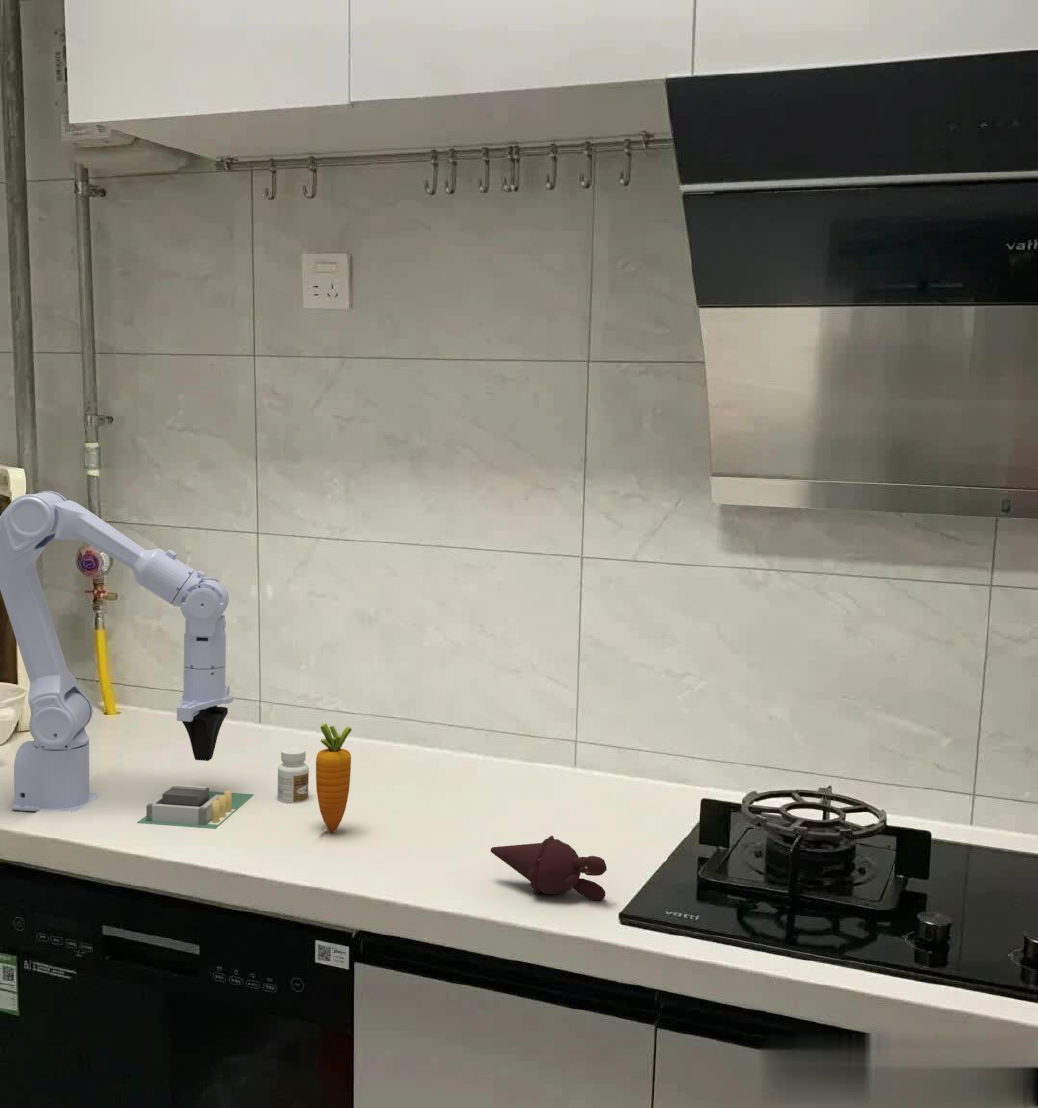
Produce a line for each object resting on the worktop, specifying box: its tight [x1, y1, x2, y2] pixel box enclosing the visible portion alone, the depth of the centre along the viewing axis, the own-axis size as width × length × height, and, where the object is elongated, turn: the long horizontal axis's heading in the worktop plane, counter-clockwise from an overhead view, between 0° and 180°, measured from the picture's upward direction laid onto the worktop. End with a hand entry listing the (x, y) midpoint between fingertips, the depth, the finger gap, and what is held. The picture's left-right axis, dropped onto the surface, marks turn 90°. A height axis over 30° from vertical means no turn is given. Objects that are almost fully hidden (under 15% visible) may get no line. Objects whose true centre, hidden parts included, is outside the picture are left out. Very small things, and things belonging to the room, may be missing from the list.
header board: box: [136, 789, 255, 830], centre depth 163 cm, size 11×15×4 cm
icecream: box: [490, 835, 607, 902], centre depth 139 cm, size 7×7×15 cm
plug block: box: [162, 784, 210, 807], centre depth 159 cm, size 5×4×4 cm
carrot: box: [315, 723, 352, 834], centre depth 156 cm, size 5×5×15 cm
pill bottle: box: [277, 746, 310, 804], centre depth 168 cm, size 4×4×8 cm
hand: (203, 759), depth 166 cm, fingers closed
